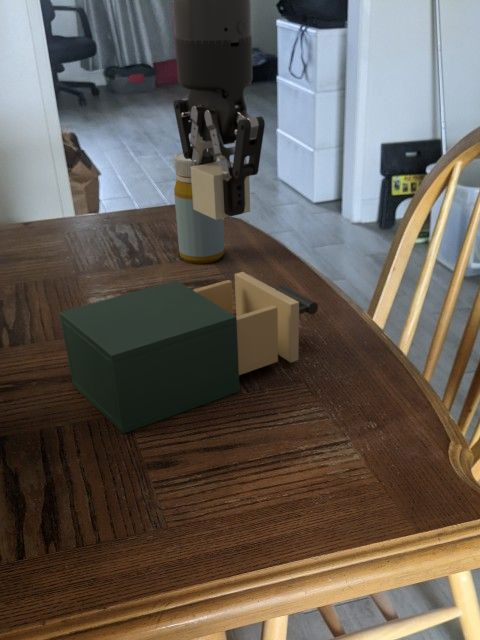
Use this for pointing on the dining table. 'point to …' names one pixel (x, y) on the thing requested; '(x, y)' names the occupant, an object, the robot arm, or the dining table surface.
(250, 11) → the robot arm
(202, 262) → the bottle
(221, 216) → the block
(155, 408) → the cabinet
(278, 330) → the drawer
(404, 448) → the dining table surface
